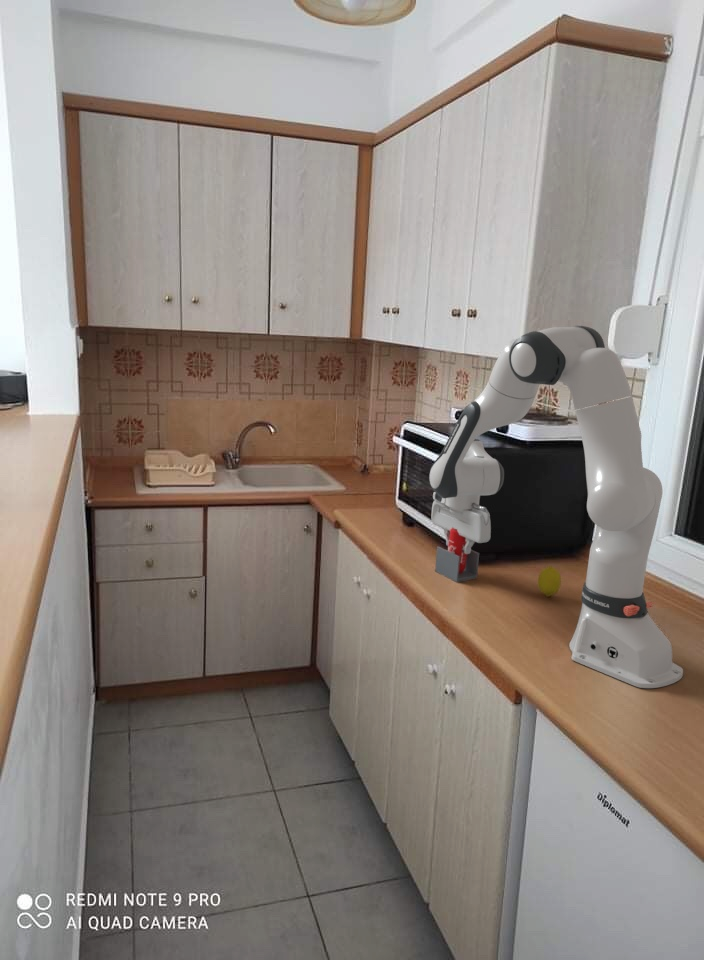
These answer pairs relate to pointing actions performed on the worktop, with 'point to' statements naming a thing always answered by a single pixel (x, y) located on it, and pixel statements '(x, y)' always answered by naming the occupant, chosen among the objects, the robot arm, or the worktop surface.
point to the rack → (456, 565)
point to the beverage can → (457, 547)
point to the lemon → (549, 581)
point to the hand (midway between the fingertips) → (458, 549)
